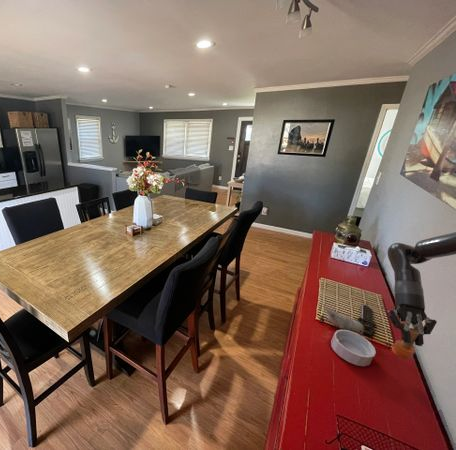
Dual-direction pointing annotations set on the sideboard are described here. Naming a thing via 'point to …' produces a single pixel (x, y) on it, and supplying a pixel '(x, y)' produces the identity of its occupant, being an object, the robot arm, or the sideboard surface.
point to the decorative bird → (343, 321)
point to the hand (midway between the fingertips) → (412, 343)
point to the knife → (363, 319)
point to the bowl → (353, 347)
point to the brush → (406, 345)
